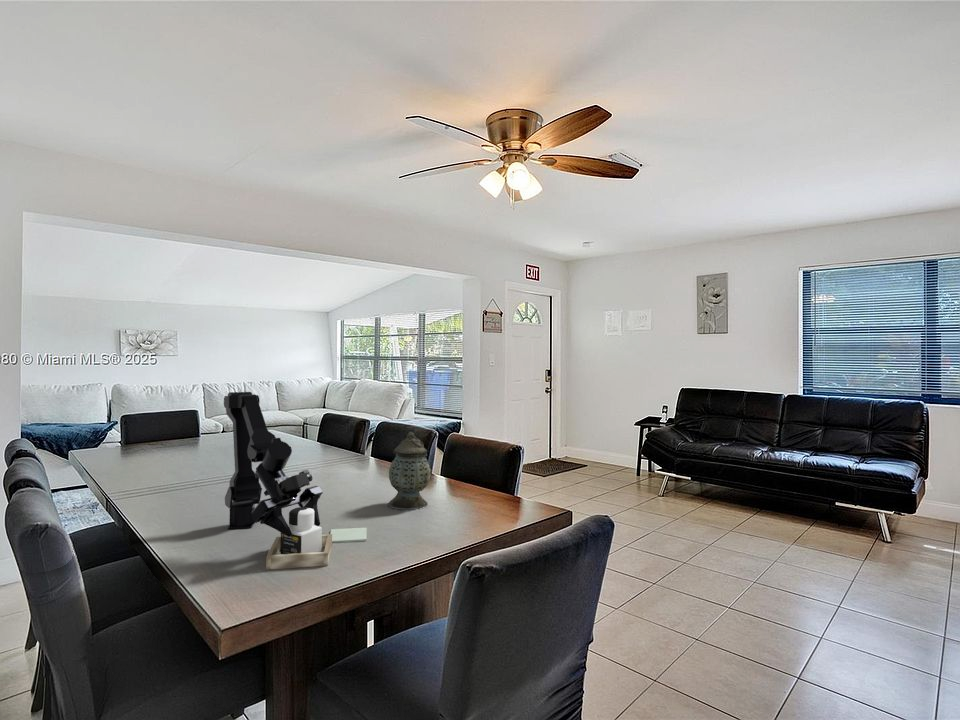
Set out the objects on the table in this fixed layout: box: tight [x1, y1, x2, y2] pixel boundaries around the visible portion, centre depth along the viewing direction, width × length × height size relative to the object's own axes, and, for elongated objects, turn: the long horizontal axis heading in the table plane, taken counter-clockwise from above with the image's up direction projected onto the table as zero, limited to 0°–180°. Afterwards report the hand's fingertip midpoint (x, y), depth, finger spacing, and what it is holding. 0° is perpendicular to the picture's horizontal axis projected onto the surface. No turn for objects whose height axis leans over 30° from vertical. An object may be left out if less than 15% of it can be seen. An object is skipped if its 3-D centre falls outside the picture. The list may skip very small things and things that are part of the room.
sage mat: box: [329, 527, 368, 544], centre depth 149 cm, size 10×10×1 cm
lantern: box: [387, 431, 432, 511], centre depth 181 cm, size 14×14×25 cm
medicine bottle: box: [279, 506, 323, 554], centre depth 133 cm, size 7×7×12 cm
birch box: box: [265, 533, 333, 570], centre depth 133 cm, size 14×14×3 cm
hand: (305, 530), depth 132 cm, fingers open, 9 cm apart
